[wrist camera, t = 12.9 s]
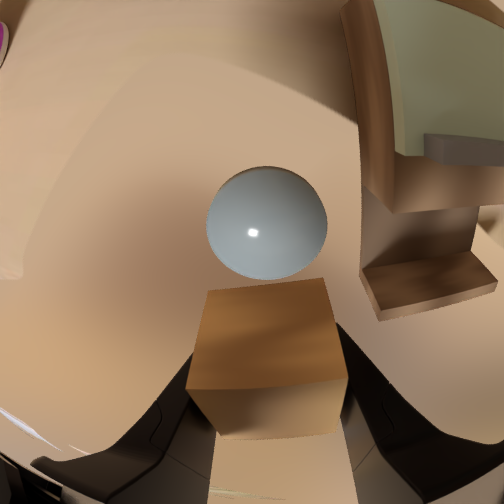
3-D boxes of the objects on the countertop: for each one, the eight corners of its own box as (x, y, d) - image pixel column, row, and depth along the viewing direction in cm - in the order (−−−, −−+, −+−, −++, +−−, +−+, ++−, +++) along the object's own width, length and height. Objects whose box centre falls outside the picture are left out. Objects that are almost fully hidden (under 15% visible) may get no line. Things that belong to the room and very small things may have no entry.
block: (322, 277, 9) (348, 377, 6) (322, 349, 11) (335, 432, 8) (208, 290, 10) (185, 389, 6) (232, 358, 12) (224, 439, 8)
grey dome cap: (319, 159, 16) (323, 163, 15) (325, 262, 20) (328, 272, 19) (197, 177, 17) (193, 182, 16) (223, 275, 20) (221, 285, 19)
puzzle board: (472, 37, 9) (516, 35, 5) (465, 257, 19) (494, 291, 15) (339, 11, 10) (367, -17, 6) (359, 276, 20) (378, 321, 16)
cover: (519, 43, 5) (546, 46, 3) (526, 157, 9) (552, 171, 7) (371, -7, 6) (394, -25, 4) (394, 151, 10) (422, 165, 8)
